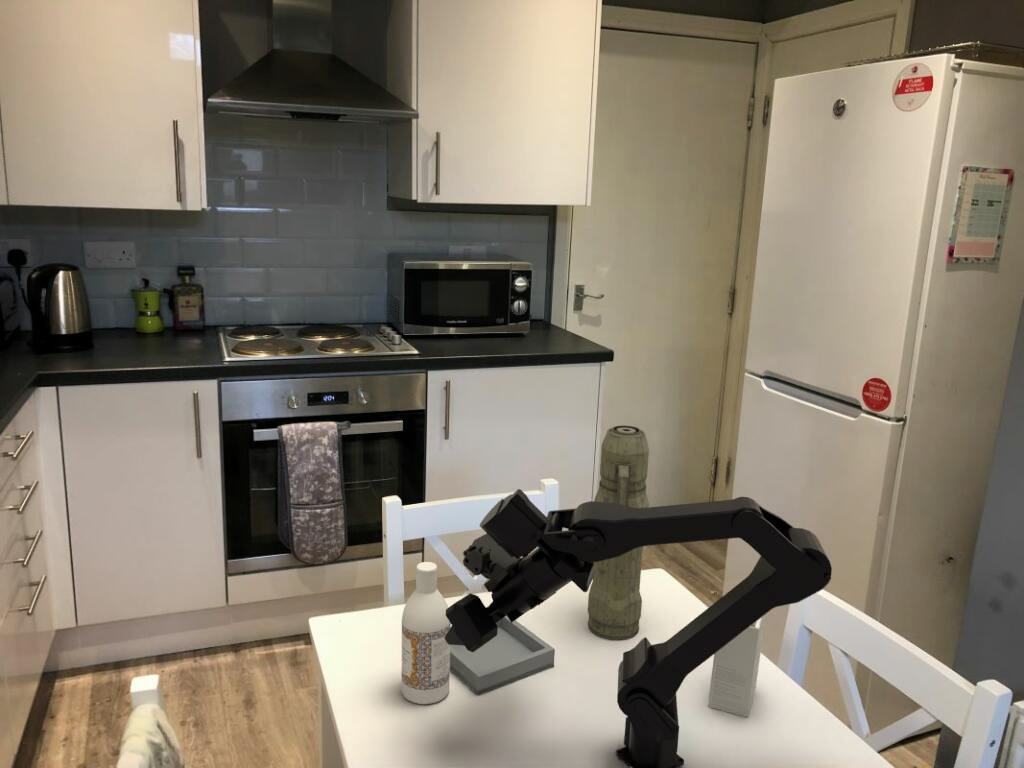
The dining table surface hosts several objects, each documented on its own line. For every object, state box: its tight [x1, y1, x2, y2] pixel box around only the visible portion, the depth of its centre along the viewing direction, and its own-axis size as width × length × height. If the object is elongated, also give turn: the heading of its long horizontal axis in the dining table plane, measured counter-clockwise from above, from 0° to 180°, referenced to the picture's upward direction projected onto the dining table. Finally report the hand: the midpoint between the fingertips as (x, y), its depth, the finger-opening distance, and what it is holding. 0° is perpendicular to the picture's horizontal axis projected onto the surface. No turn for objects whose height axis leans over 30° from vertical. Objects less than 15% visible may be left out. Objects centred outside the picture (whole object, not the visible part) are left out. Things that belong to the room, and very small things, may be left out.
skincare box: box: [707, 614, 767, 718], centre depth 122 cm, size 8×6×15 cm
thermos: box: [587, 424, 650, 642], centre depth 138 cm, size 9×12×35 cm
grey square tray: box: [450, 615, 556, 696], centre depth 131 cm, size 14×14×3 cm
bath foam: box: [401, 561, 452, 705], centre depth 120 cm, size 7×7×20 cm
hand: (467, 626), depth 115 cm, fingers open, 9 cm apart
